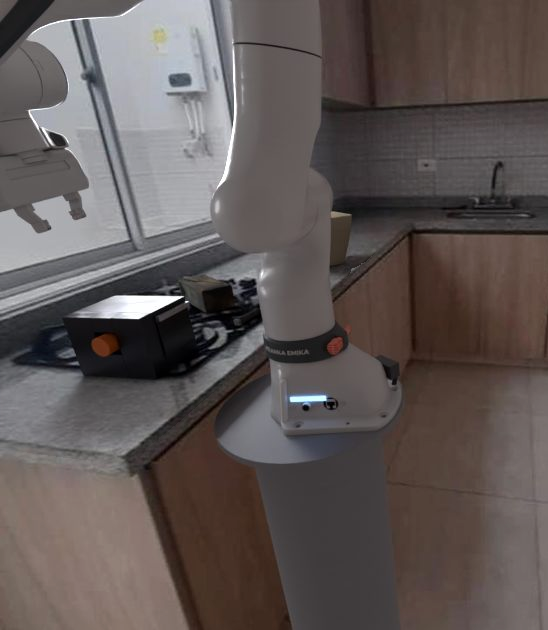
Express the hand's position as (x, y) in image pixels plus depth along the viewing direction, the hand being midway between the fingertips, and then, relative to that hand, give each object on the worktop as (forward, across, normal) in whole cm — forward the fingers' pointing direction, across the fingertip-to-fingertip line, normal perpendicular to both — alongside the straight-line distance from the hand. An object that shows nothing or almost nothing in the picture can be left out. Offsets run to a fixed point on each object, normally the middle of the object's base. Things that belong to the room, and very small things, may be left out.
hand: (63, 224), depth 78 cm
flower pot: (+38, +68, -24) cm, 82 cm away
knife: (+34, +22, -17) cm, 44 cm away
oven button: (+22, -8, -1) cm, 24 cm away
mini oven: (+28, -3, -1) cm, 28 cm away
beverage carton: (+31, +32, 0) cm, 44 cm away
